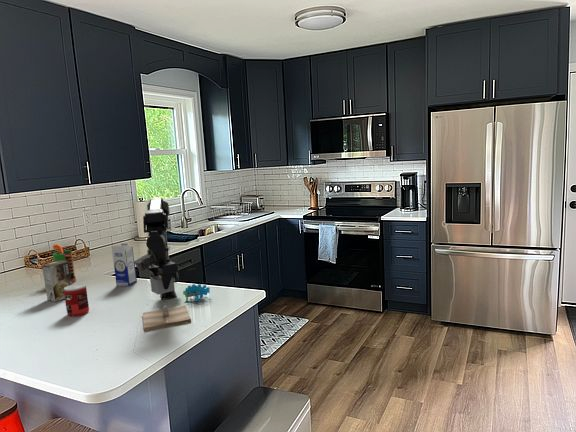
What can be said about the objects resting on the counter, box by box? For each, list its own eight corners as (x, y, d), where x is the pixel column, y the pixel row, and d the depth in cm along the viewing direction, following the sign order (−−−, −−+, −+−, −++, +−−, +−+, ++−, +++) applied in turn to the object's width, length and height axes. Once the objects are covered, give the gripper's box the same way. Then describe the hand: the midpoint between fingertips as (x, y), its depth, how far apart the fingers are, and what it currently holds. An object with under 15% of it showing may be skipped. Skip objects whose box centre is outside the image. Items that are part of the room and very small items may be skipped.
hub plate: (142, 315, 163) (141, 303, 162) (185, 308, 168) (184, 296, 167) (144, 331, 148) (142, 318, 147) (191, 322, 153) (189, 309, 152)
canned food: (68, 311, 173) (64, 285, 171) (90, 308, 175) (86, 282, 174) (66, 318, 165) (62, 290, 164) (88, 314, 168) (84, 287, 167)
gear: (213, 291, 181) (205, 280, 173) (213, 304, 178) (204, 293, 170) (188, 295, 182) (179, 285, 175) (187, 308, 179) (178, 298, 171)
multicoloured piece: (75, 283, 214) (69, 244, 211) (55, 286, 211) (49, 247, 208) (77, 278, 223) (71, 241, 220) (57, 281, 220) (52, 243, 217)
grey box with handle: (151, 291, 157) (149, 276, 156) (166, 287, 160) (165, 273, 160) (158, 294, 152) (156, 279, 151) (174, 290, 156) (172, 275, 155)
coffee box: (66, 293, 198) (61, 259, 195) (74, 295, 194) (69, 260, 192) (46, 300, 190) (41, 265, 188) (54, 302, 187) (49, 266, 184)
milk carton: (116, 286, 205) (111, 245, 202) (124, 282, 211) (119, 242, 208) (129, 286, 203) (124, 245, 200) (137, 282, 210) (132, 242, 207)
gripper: (126, 246, 156) (131, 288, 158) (146, 253, 142) (151, 299, 144) (155, 241, 163) (159, 280, 165) (177, 247, 149) (181, 290, 151)
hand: (162, 287), depth 156 cm, fingers closed on grey box with handle, 6 cm apart
